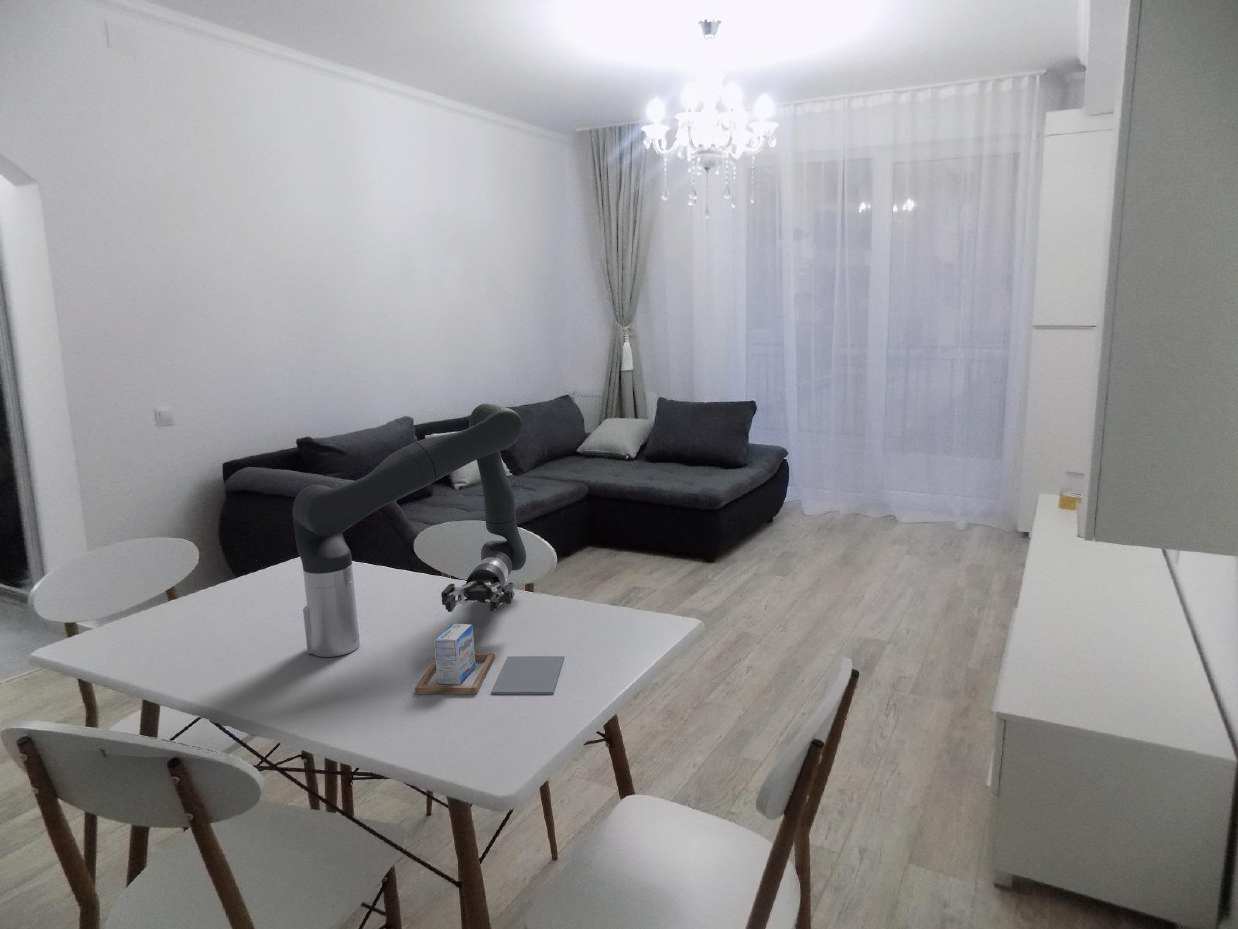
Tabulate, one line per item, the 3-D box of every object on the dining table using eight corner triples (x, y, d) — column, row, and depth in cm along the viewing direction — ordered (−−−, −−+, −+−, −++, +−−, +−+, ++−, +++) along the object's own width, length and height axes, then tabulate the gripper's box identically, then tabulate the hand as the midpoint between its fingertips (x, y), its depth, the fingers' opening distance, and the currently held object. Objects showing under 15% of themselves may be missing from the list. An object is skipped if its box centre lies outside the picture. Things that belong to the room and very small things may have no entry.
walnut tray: (415, 694, 146) (414, 687, 145) (438, 658, 160) (438, 652, 160) (477, 694, 145) (476, 687, 145) (494, 658, 160) (494, 652, 159)
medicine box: (460, 686, 148) (456, 640, 147) (436, 684, 149) (433, 639, 148) (476, 667, 156) (473, 624, 154) (454, 666, 157) (450, 622, 155)
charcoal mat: (491, 694, 145) (490, 692, 145) (507, 658, 159) (507, 656, 159) (553, 694, 144) (553, 692, 144) (564, 658, 159) (564, 656, 159)
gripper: (454, 563, 178) (433, 589, 162) (519, 561, 177) (504, 588, 161) (457, 596, 179) (436, 625, 163) (522, 594, 178) (507, 624, 163)
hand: (470, 607), depth 162 cm, fingers open, 8 cm apart
